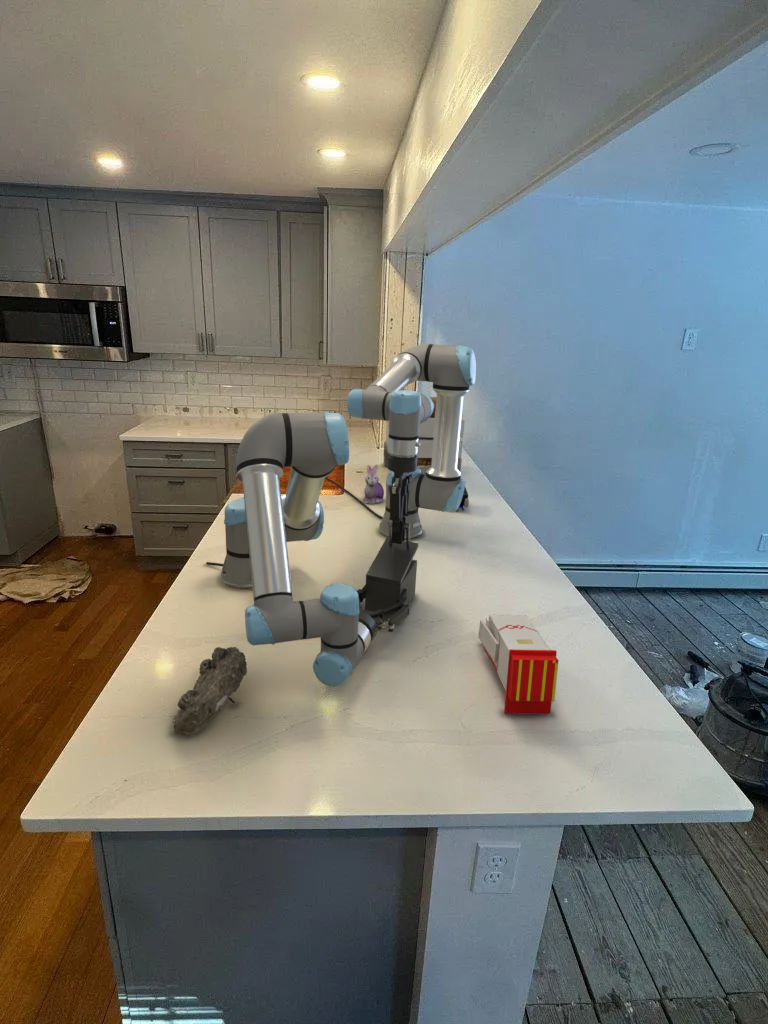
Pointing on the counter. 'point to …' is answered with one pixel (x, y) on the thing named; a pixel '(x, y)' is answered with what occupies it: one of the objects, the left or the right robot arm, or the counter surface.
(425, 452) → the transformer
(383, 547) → the lid
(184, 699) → the fossil
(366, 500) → the figurine
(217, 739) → the counter surface
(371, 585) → the chest
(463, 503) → the figurine character
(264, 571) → the left robot arm
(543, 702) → the toy
